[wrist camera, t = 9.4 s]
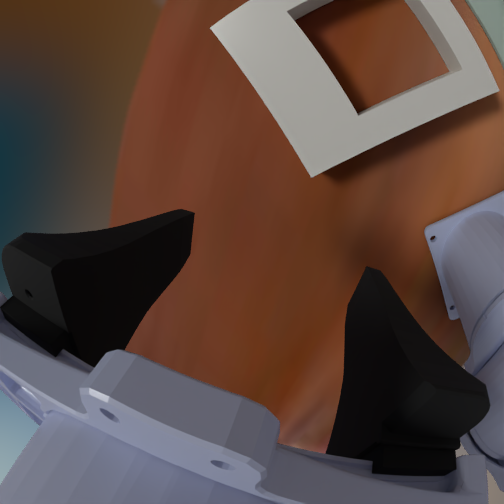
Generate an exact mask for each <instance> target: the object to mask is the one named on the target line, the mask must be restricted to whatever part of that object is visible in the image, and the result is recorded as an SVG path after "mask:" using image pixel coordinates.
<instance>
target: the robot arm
mask: <svg viewBox="0 0 504 504" xmlns="http://www.w3.org/2000/svg"><path fill="white" fill-rule="evenodd" d="M194 214H195V213H193V212H190V211H187V210H183V209H179V210H174V211H170V212H167V213H163V214H160V215H157V216H153V217H150V218H147V219H144V220H140V221H136V222H133V223H129V224H126V225H122V226H118V227H113V228H108V229H103V230H97V231H88V232H80V233H67V234H43V233H23V234H22V235H20V236H19V237H17V238H16V239H14V240H13V241H11V242H10V243H9V244H7V245H6V246H5V247H4V248H3V252H2V263H3V268H4V271H5V274H6V277H7V280H8V283H9V286H10V289H11V292H12V294H13V296H12V297H11V298H10V299H8V300H7V298H6V297H5V295H3V293H2V292H0V389H1V390H2V391H3V392H4V393H5V394H6V395H7V396H8V397H9V398H10V399H11V400H12V401H13V402H14V403H15V404H16V405H17V406H18V407H19V408H20V409H21V410H23V411H24V412H25V413H26V414H27V415H28V416H29V417H30V418H31V419H33V420H34V421H35V422H36V423H37V424H38V425H40V427H39V428H38V429H37V431H36V432H35V434H34V435H33V437H32V438H31V439H30V441H29V442H28V444H27V445H26V447H25V448H24V450H23V451H22V453H21V454H20V456H19V457H18V458H17V460H16V462H15V463H14V465H13V466H12V468H11V469H10V471H9V472H8V474H7V475H6V477H5V478H4V480H3V481H2V483H1V485H0V504H488V483H487V470H489V472H490V473H491V474H492V476H493V477H494V479H495V481H496V482H497V485H498V487H499V489H500V490H501V491H503V492H504V191H502V192H500V193H498V194H496V195H493V196H491V197H489V198H487V199H485V200H483V201H481V202H479V203H477V204H475V205H472V206H470V207H468V208H466V209H464V210H462V211H460V212H457V213H455V214H453V215H451V216H449V217H446V218H444V219H442V220H440V221H437V222H435V223H433V224H431V225H429V226H427V227H426V228H425V230H424V234H425V237H426V239H427V242H428V245H429V248H430V251H431V254H432V258H433V261H434V264H435V267H436V270H437V274H438V277H439V281H440V284H441V288H442V292H443V295H444V299H445V303H446V307H447V311H448V316H449V318H450V319H451V320H455V319H458V318H460V320H461V323H462V326H463V329H464V332H465V335H466V338H467V341H468V345H469V348H470V356H469V358H468V360H467V361H466V363H465V364H464V366H465V369H463V368H462V367H461V366H460V365H459V364H457V363H456V362H455V361H454V360H453V359H451V358H450V357H449V356H448V355H447V354H446V353H445V352H444V351H443V350H442V349H441V348H440V347H439V346H438V345H437V344H436V343H435V342H434V341H433V340H432V339H431V338H430V337H429V336H428V335H427V333H426V332H425V331H424V330H423V329H422V328H421V326H420V325H419V324H418V323H417V321H416V320H415V319H414V317H413V316H412V315H411V313H410V312H409V311H408V309H407V308H406V307H405V305H404V304H403V302H402V301H401V299H400V298H399V296H398V295H397V293H396V292H395V290H394V289H393V287H392V286H391V284H390V283H389V282H388V280H387V279H386V277H385V276H384V275H383V273H382V272H381V271H380V270H377V269H374V268H370V267H366V269H365V271H364V273H363V275H362V277H361V279H360V281H359V283H358V285H357V288H356V290H355V292H354V294H353V296H352V298H351V300H350V302H349V304H348V308H347V314H346V321H345V349H344V375H343V383H342V389H341V395H340V400H339V405H338V409H337V414H336V418H335V422H334V426H333V430H332V434H331V437H330V441H329V444H328V448H327V451H326V454H323V453H318V452H313V451H308V450H304V449H299V448H295V447H291V446H287V445H283V444H279V443H277V440H278V437H279V433H280V421H279V420H278V419H277V418H276V417H275V416H274V415H273V414H272V413H271V412H270V411H269V410H268V409H267V408H266V407H265V406H263V405H261V404H259V403H257V402H254V401H252V400H250V399H248V398H246V397H244V396H241V395H238V394H235V393H232V392H229V391H227V390H224V389H221V388H218V387H215V386H213V385H210V384H207V383H205V382H202V381H200V380H197V379H194V378H192V377H189V376H187V375H184V374H182V373H180V372H177V371H175V370H172V369H170V368H168V367H165V366H163V365H161V364H158V363H156V362H154V361H152V360H150V359H147V358H145V357H143V356H141V355H138V354H135V353H131V352H128V351H125V348H126V346H127V344H128V343H129V341H130V339H131V337H132V336H133V334H134V332H135V330H136V329H137V327H138V325H139V324H140V322H141V321H142V319H143V317H144V316H145V314H146V313H147V311H148V310H149V309H150V307H151V306H152V305H153V303H154V302H155V301H156V300H157V299H158V297H159V296H160V295H161V294H162V293H163V291H164V290H165V289H166V288H167V287H168V285H169V284H170V283H171V282H172V281H173V279H174V278H175V277H176V276H177V274H178V273H179V272H180V270H181V269H182V267H183V266H184V264H185V262H186V261H187V259H188V257H189V256H190V252H191V242H192V232H193V223H194ZM432 236H435V239H434V240H430V238H431V237H432ZM453 305H454V306H453ZM451 306H453V307H451ZM460 442H461V443H462V445H463V447H464V449H465V450H466V451H467V453H468V454H469V455H463V456H459V457H457V458H456V454H455V450H457V449H459V448H460V445H461V444H460ZM486 469H487V470H486Z"/></svg>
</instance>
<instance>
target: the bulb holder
mask: <svg viewBox="0 0 504 504" xmlns="http://www.w3.org/2000/svg"><path fill="white" fill-rule="evenodd" d="M331 1H334V0H250V1H248V2H246V3H245V4H243V5H242V6H240V7H239V8H237V9H236V10H234V11H233V12H231V13H230V14H228V15H227V16H226V17H224V18H223V19H221V20H220V21H218V22H217V23H216V24H214V25H213V26H212V27H210V29H211V30H212V31H213V32H214V34H215V35H216V36H217V38H218V39H219V40H220V41H221V43H222V44H223V45H224V47H225V48H226V49H227V51H228V52H229V53H230V55H231V56H232V57H233V59H234V60H235V61H236V63H237V64H238V66H239V67H240V68H241V70H242V71H243V72H244V74H245V75H246V77H247V78H248V80H249V81H250V82H251V84H252V85H253V87H254V88H255V90H256V91H257V92H258V94H259V95H260V97H261V98H262V100H263V101H264V103H265V104H266V106H267V107H268V109H269V110H270V112H271V113H272V115H273V116H274V118H275V119H276V121H277V123H278V124H279V126H280V127H281V129H282V130H283V132H284V133H285V135H286V137H287V138H288V140H289V141H290V143H291V145H292V146H293V148H294V150H295V151H296V153H297V154H298V156H299V158H300V159H301V161H302V163H303V164H304V166H305V168H306V169H307V171H308V173H309V175H310V176H311V178H312V177H314V176H316V175H318V174H319V173H321V172H323V171H325V170H327V169H329V168H331V167H333V166H335V165H337V164H339V163H341V162H344V161H346V160H348V159H350V158H352V157H354V156H356V155H358V154H360V153H362V152H364V151H366V150H368V149H370V148H372V147H374V146H376V145H379V144H381V143H383V142H385V141H387V140H389V139H391V138H393V137H395V136H398V135H400V134H402V133H404V132H406V131H408V130H411V129H413V128H415V127H417V126H419V125H421V124H424V123H426V122H428V121H430V120H433V119H435V118H437V117H439V116H442V115H444V114H446V113H448V112H451V111H453V110H455V109H457V108H460V107H462V106H464V105H467V104H469V103H471V102H474V101H476V100H479V99H481V98H483V97H486V96H488V95H491V94H493V93H495V92H498V91H499V89H498V86H497V84H496V82H495V80H494V77H493V75H492V73H491V71H490V69H489V67H488V65H487V63H486V61H485V59H484V57H483V55H482V53H481V51H480V49H479V47H478V45H477V43H476V42H475V40H474V38H473V36H472V35H471V33H470V31H469V29H468V28H467V26H466V24H465V23H464V21H463V20H462V18H461V16H460V15H459V13H458V12H457V10H456V9H455V7H454V6H453V4H452V3H451V1H450V0H405V2H406V3H407V4H408V6H409V7H410V9H411V10H412V11H413V13H414V14H415V16H416V17H417V19H418V20H419V21H420V23H421V24H422V26H423V27H424V29H425V31H426V32H427V34H428V35H429V37H430V38H431V40H432V42H433V43H434V45H435V47H436V48H437V50H438V52H439V53H440V55H441V57H442V59H443V61H444V62H445V64H446V66H447V68H448V70H449V72H448V73H446V74H443V75H441V76H438V77H436V78H434V79H431V80H429V81H427V82H424V83H422V84H420V85H417V86H415V87H413V88H411V89H408V90H406V91H404V92H402V93H399V94H397V95H395V96H393V97H391V98H389V99H387V100H384V101H382V102H380V103H378V104H376V105H374V106H372V107H370V108H368V109H366V110H364V111H362V112H360V113H358V114H357V112H356V110H355V109H354V107H353V105H352V104H351V102H350V100H349V99H348V97H347V95H346V94H345V92H344V91H343V89H342V87H341V86H340V84H339V83H338V81H337V80H336V78H335V76H334V75H333V73H332V72H331V70H330V69H329V67H328V66H327V64H326V63H325V62H324V60H323V59H322V57H321V56H320V54H319V53H318V52H317V50H316V49H315V47H314V46H313V45H312V43H311V42H310V41H309V39H308V38H307V37H306V35H305V34H304V33H303V31H302V30H301V29H300V27H299V26H298V25H297V24H296V22H295V20H296V19H298V18H300V17H302V16H304V15H306V14H307V13H309V12H311V11H313V10H315V9H317V8H319V7H321V6H323V5H325V4H327V3H329V2H331Z"/></svg>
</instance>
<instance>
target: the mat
mask: <svg viewBox="0 0 504 504" xmlns="http://www.w3.org/2000/svg"><path fill="white" fill-rule="evenodd" d="M465 1H466V2H467V4H468V5H469V7H470V9H471V10H472V12H473V13H474V15H475V16H476V18H477V20H478V21H479V23H480V25H481V26H482V28H483V30H484V32H485V33H486V35H487V37H488V39H489V41H490V42H491V44H492V46H493V48H494V50H495V52H496V54H497V56H498V58H499V60H500V62H501V64H502V66H503V69H504V4H503V0H465Z"/></svg>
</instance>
